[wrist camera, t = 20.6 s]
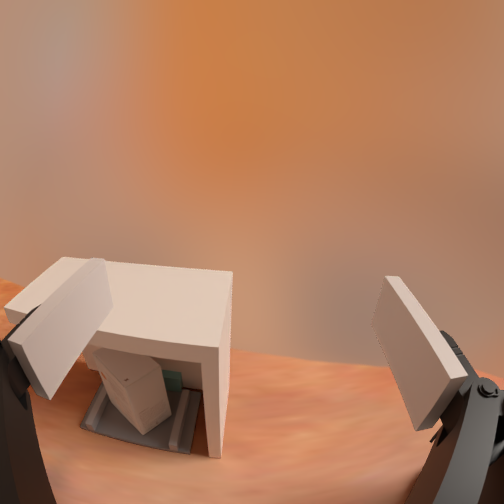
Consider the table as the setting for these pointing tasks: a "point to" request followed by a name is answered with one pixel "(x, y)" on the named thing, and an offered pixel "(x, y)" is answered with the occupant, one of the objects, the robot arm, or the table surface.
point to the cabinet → (157, 344)
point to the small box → (134, 387)
